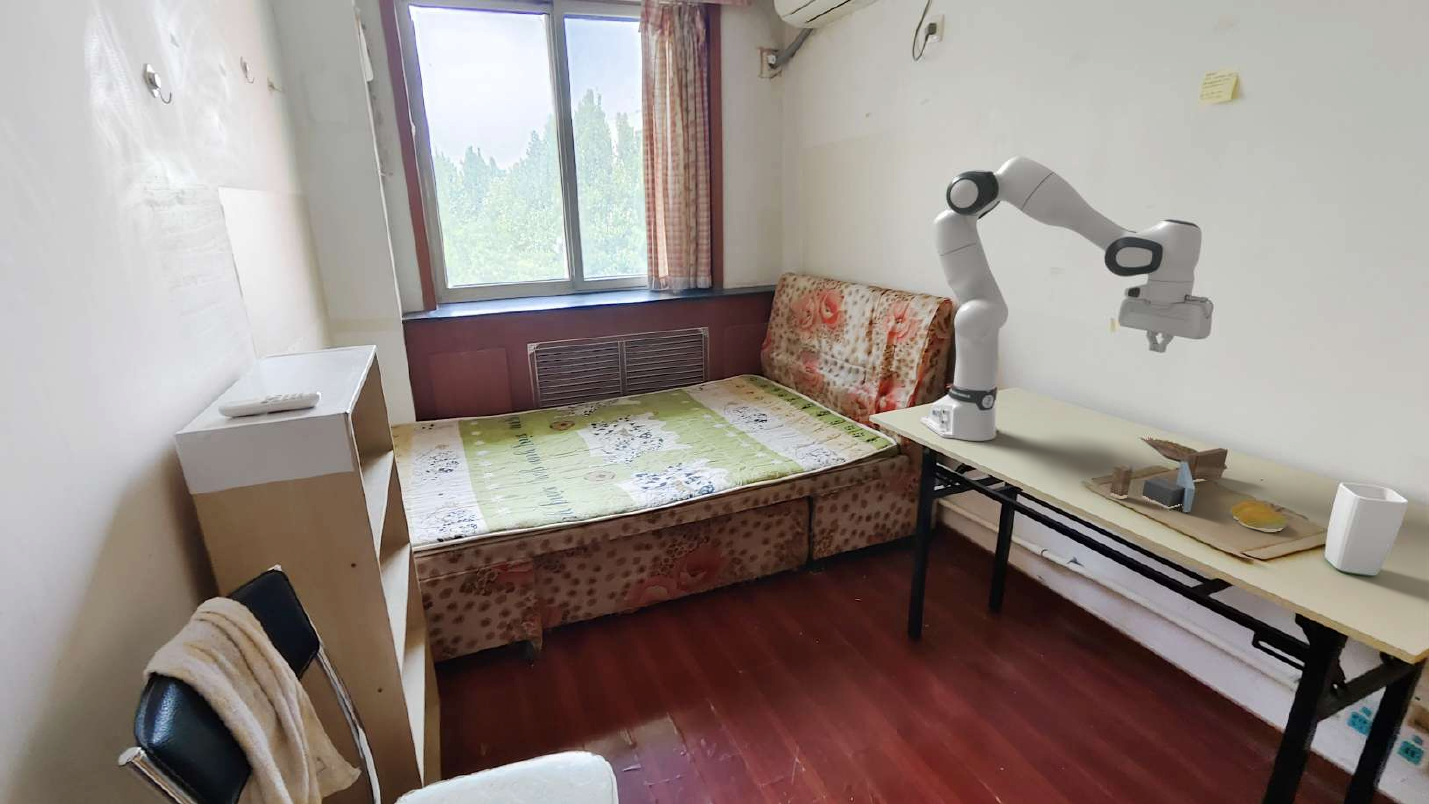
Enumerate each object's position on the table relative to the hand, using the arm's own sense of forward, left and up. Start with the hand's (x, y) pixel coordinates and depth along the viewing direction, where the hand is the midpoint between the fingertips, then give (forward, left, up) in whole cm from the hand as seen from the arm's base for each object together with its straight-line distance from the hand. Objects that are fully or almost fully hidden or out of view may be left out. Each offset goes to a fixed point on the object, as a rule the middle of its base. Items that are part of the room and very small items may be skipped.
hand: (1156, 351), depth 152 cm
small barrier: (+12, -5, -29) cm, 32 cm away
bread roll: (+31, -5, -30) cm, 43 cm away
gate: (+18, -8, -29) cm, 35 cm away
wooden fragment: (-2, +18, -30) cm, 35 cm away
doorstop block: (+17, -14, -29) cm, 37 cm away
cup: (+48, -8, -29) cm, 57 cm away
